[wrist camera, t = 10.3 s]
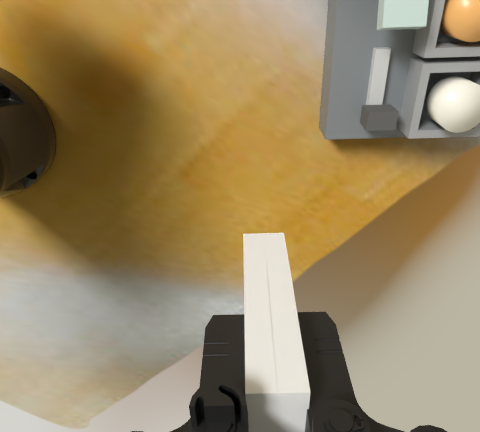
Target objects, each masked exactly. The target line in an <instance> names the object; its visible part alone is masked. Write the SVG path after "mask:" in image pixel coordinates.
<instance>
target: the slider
mask: <svg viewBox="0 0 480 432" xmlns="http://www.w3.org/2000/svg"><path fill="white" fill-rule="evenodd" d="M398 113H399V111H398V110H396V109H395V108H394V107H393V106H392V105H391V104H383V105H362V109H361V117H360V124H361V125H362V126H363V128H364V129H365V130H366V131H381V130H395V129H396V124H397V118H398Z"/></svg>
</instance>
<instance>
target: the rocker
mask: <svg viewBox="0 0 480 432" xmlns="http://www.w3.org/2000/svg"><path fill="white" fill-rule="evenodd" d="M428 4H429V0H379V3H378V18H377V30H403V29H420V28H423V27H426V24H427V14H428Z"/></svg>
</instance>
